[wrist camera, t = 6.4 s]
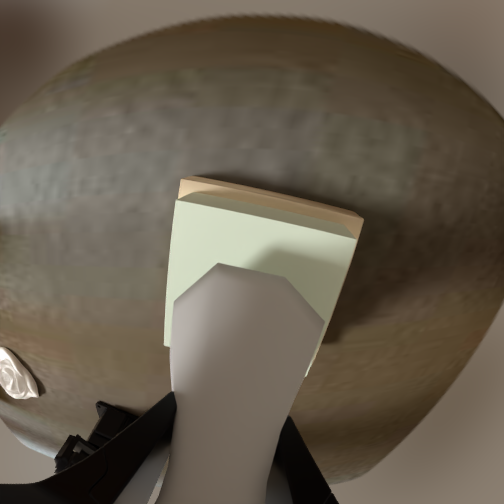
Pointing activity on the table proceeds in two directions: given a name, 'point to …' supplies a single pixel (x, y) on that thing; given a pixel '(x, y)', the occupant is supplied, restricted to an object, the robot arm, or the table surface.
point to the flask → (234, 382)
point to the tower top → (257, 249)
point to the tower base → (274, 204)
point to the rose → (16, 376)
